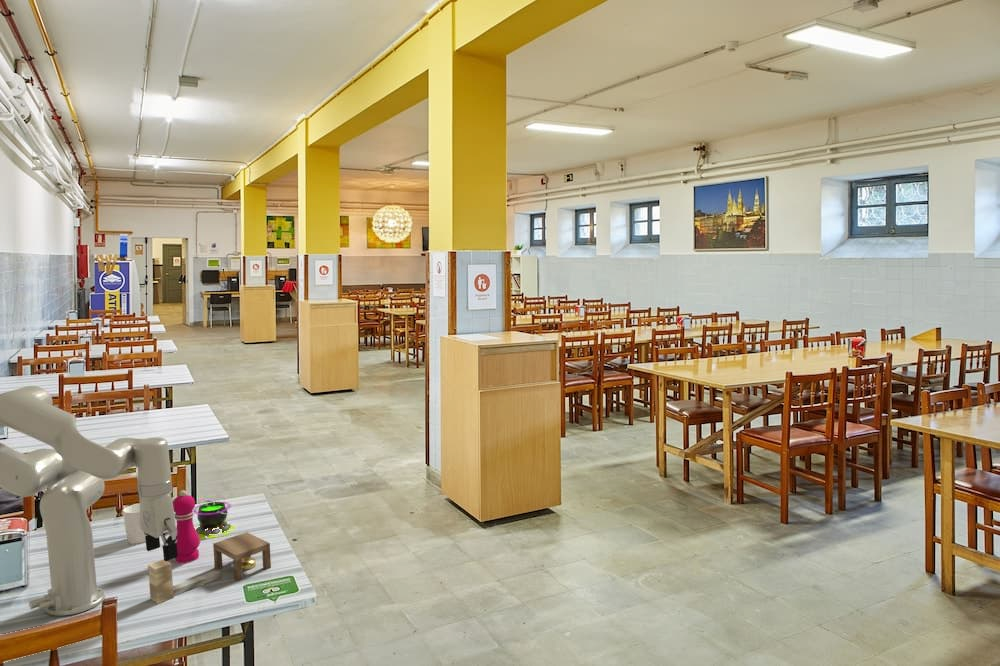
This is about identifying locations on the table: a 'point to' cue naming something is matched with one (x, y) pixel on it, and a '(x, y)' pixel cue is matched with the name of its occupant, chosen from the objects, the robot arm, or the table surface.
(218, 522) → the toy cauldron
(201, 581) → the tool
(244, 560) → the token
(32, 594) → the table surface
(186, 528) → the pepper mill
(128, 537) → the white cup
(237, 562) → the small wooden table
